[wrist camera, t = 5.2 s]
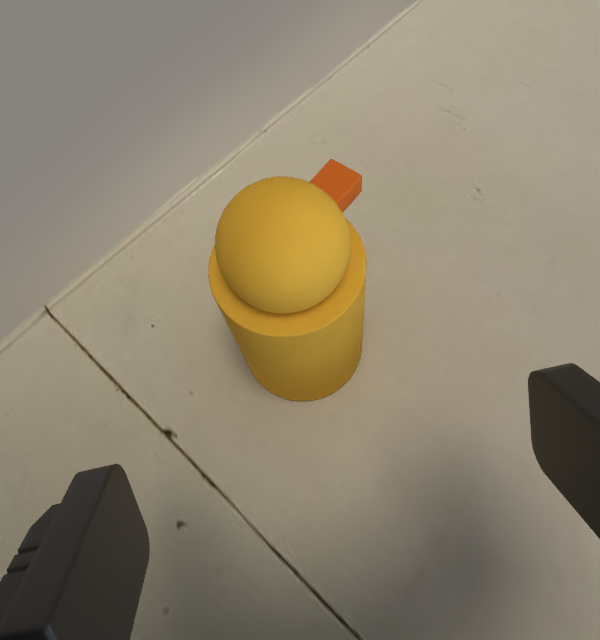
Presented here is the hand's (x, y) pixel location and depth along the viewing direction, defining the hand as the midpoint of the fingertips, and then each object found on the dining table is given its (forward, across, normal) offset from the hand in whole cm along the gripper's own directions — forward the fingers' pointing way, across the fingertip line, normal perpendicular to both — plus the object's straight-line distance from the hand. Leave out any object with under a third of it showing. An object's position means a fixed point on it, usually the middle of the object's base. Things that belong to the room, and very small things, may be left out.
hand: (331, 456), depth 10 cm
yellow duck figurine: (+13, 0, +3) cm, 13 cm away
